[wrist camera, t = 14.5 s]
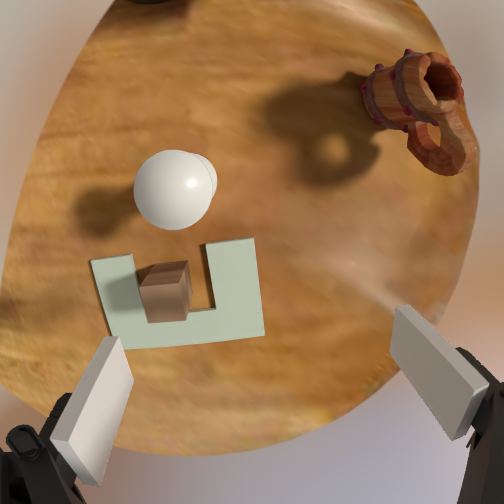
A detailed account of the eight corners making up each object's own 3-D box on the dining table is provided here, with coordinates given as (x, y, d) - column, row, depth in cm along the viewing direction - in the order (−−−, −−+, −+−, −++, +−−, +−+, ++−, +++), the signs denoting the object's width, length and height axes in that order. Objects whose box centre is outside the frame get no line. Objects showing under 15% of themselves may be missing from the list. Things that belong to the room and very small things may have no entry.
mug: (343, 75, 36) (398, 40, 21) (392, 64, 35) (456, 34, 21) (382, 178, 40) (450, 191, 25) (426, 160, 39) (499, 167, 25)
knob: (157, 158, 37) (128, 157, 26) (213, 149, 37) (206, 143, 26) (165, 213, 39) (140, 235, 28) (220, 205, 39) (217, 224, 28)
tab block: (154, 264, 41) (139, 287, 33) (187, 260, 41) (178, 283, 33) (160, 295, 42) (147, 323, 34) (192, 292, 42) (186, 320, 35)
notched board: (92, 259, 40) (90, 260, 39) (253, 236, 41) (253, 238, 40) (118, 347, 44) (117, 349, 43) (264, 332, 45) (265, 335, 44)
